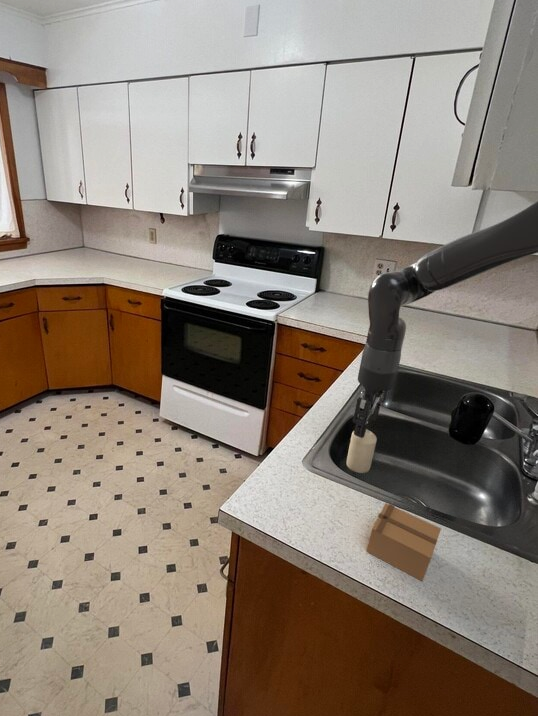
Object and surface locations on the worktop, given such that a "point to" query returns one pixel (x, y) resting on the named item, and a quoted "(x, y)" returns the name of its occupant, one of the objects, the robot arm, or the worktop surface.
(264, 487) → the worktop surface
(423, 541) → the cardboard box
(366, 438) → the candle
